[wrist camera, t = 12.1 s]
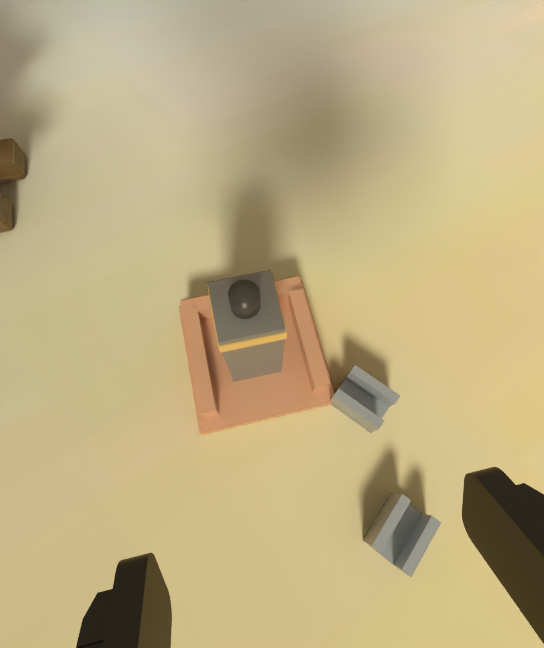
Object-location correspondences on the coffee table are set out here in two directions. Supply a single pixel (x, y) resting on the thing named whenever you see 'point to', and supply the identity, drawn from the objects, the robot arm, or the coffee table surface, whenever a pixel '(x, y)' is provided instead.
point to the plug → (248, 324)
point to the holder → (263, 391)
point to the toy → (9, 177)
